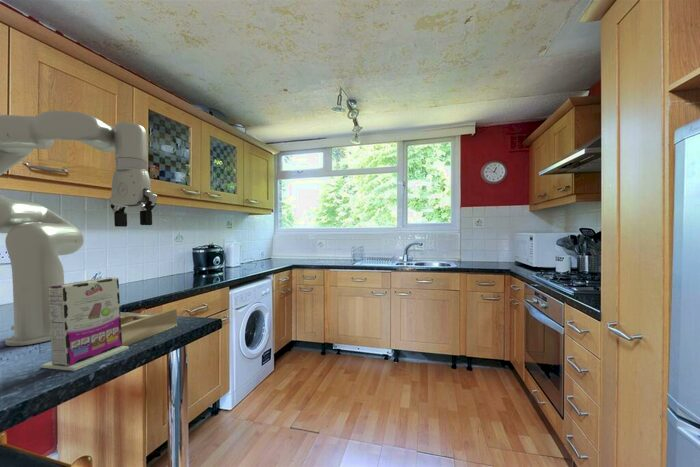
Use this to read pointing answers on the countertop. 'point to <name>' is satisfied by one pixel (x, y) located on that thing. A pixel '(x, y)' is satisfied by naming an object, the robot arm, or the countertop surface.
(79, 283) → the candy bar box
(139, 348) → the countertop surface
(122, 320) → the offcut upper
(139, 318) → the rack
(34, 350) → the countertop surface
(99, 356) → the tile
